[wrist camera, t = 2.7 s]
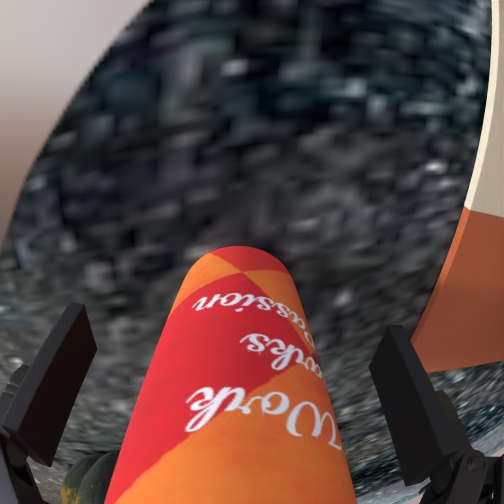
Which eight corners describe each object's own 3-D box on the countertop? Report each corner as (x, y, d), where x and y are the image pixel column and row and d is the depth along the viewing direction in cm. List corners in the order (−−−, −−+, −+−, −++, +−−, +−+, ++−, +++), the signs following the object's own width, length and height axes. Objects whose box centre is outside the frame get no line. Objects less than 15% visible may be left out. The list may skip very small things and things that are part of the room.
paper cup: (343, 300, 16) (421, 577, 4) (232, 365, 18) (224, 598, 6) (247, 186, 13) (244, 651, 1) (131, 282, 16) (29, 559, 3)
